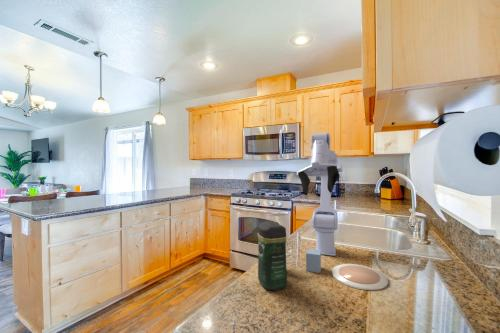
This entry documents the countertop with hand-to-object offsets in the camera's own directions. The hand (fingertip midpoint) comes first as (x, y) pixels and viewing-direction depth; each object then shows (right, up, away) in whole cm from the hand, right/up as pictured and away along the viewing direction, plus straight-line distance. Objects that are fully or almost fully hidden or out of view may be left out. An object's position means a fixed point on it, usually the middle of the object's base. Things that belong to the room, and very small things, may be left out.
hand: (317, 192), depth 69 cm
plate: (+14, -28, +3) cm, 31 cm away
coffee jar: (-14, -28, 0) cm, 31 cm away
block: (+2, -28, +9) cm, 29 cm away
